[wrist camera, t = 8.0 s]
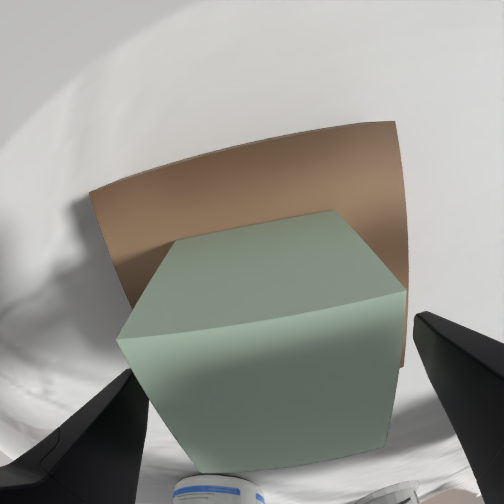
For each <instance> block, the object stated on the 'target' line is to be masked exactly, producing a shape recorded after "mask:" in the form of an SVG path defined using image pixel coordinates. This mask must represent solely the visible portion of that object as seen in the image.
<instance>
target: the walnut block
mask: <svg viewBox="0 0 504 504" xmlns="http://www.w3.org/2000/svg"><path fill="white" fill-rule="evenodd" d="M89 196H90V199H91V202H92V205H93V208H94V211H95V214H96V217H97V220H98V223H99V226H100V229H101V232H102V235H103V237H104V240H105V243H106V246H107V248H108V251H109V254H110V256H111V259H112V261H113V264H114V267H115V269H116V272H117V274H118V277H119V279H120V281H121V284H122V286H123V289H124V291H125V293H126V296H127V298H128V300H129V303H130V305H131V307H132V309H134V307H135V305H136V304H137V302H138V300H139V299H140V297H141V295H142V294H143V292H144V290H145V289H146V287H147V285H148V284H149V282H150V280H151V279H152V277H153V276H154V274H155V272H156V271H157V269H158V268H159V266H160V264H161V263H162V261H163V260H164V258H165V256H166V255H167V253H168V252H169V250H170V249H171V247H172V246H173V244H174V242H175V241H176V240H181V239H186V238H191V237H195V236H200V235H205V234H210V233H215V232H220V231H225V230H230V229H235V228H240V227H245V226H250V225H255V224H261V223H266V222H271V221H276V220H282V219H287V218H292V217H298V216H303V215H309V214H314V213H320V212H325V211H331V210H335V211H336V212H337V213H338V214H339V215H340V216H341V217H342V218H343V219H344V220H345V221H346V222H347V223H348V224H349V225H350V226H351V228H352V229H353V230H354V231H355V232H356V233H357V234H358V235H359V236H360V237H361V238H362V239H363V241H364V242H365V243H366V244H367V245H368V246H369V247H370V248H371V249H372V251H373V252H374V253H375V254H376V255H377V256H378V257H379V258H380V260H381V261H382V262H383V263H384V264H385V265H386V266H387V268H388V269H389V270H390V271H391V272H392V273H393V275H394V276H395V277H396V278H397V279H398V281H399V282H400V283H401V284H402V285H403V287H404V288H405V289H406V290H407V293H406V310H405V323H404V334H403V343H402V352H401V360H400V367H399V368H401V367H403V366H404V357H405V346H406V333H407V316H408V283H409V264H408V231H407V214H406V201H405V190H404V180H403V171H402V163H401V156H400V149H399V142H398V136H397V130H396V124H395V121H383V122H364V123H356V124H349V125H342V126H335V127H328V128H322V129H316V130H310V131H305V132H299V133H294V134H288V135H283V136H278V137H273V138H268V139H264V140H259V141H255V142H250V143H246V144H241V145H237V146H233V147H229V148H225V149H221V150H217V151H213V152H209V153H205V154H201V155H198V156H194V157H190V158H187V159H183V160H180V161H176V162H173V163H170V164H166V165H163V166H160V167H156V168H153V169H150V170H147V171H144V172H141V173H138V174H135V175H132V176H129V177H126V178H123V179H120V180H118V181H115V182H113V183H110V184H108V185H106V186H103V187H101V188H98V189H96V190H94V191H92V192H89Z"/></svg>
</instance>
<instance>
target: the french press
mask: <svg viewBox="0 0 504 504" xmlns="http://www.w3.org/2000/svg"><path fill="white" fill-rule="evenodd" d="M419 485H420V484H419V482H418V481H408V482H403V483H398V484H395V485H392V486H389V487H386V488H383V489H381V490H379V491H376V492H374V493H371V494H369V495H368V496H366V497H364V498H362V499H360V500H359V501H358V502H357V503H355V504H420V502H419V499H418V497H417V494H416V490H417V488H418V487H419Z"/></svg>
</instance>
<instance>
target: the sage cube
mask: <svg viewBox="0 0 504 504" xmlns="http://www.w3.org/2000/svg"><path fill="white" fill-rule="evenodd" d="M406 293H407V290H406V289H405V288H404V287H403V285H402V284H401V283H400V282H399V281H398V279H397V278H396V277H395V276H394V275H393V273H392V272H391V271H390V270H389V269H388V268H387V266H386V265H385V264H384V263H383V262H382V261H381V260H380V258H379V257H378V256H377V255H376V254H375V253H374V252H373V251H372V249H371V248H370V247H369V246H368V245H367V244H366V243H365V242H364V241H363V239H362V238H361V237H360V236H359V235H358V234H357V233H356V232H355V231H354V230H353V229H352V228H351V226H350V225H349V224H348V223H347V222H346V221H345V220H344V219H343V218H342V217H341V216H340V215H339V214H338V213H337V212H336V211H335V210H331V211H325V212H320V213H314V214H309V215H303V216H298V217H292V218H287V219H282V220H276V221H271V222H266V223H261V224H255V225H250V226H245V227H240V228H235V229H230V230H225V231H220V232H215V233H210V234H205V235H200V236H195V237H191V238H186V239H181V240H176V241H175V242H174V244H173V246H172V247H171V249H170V250H169V252H168V253H167V255H166V256H165V258H164V260H163V261H162V263H161V264H160V266H159V268H158V269H157V271H156V272H155V274H154V276H153V277H152V279H151V280H150V282H149V284H148V285H147V287H146V289H145V290H144V292H143V294H142V295H141V297H140V299H139V300H138V302H137V304H136V305H135V307H134V309H133V310H132V312H131V314H130V315H129V317H128V319H127V321H126V322H125V324H124V326H123V327H122V329H121V331H120V333H119V335H118V336H117V338H116V341H117V343H118V345H119V347H120V349H121V351H122V353H123V355H124V356H125V358H126V360H127V362H128V364H129V366H130V367H131V369H132V371H133V373H134V374H135V376H136V378H137V380H138V381H139V383H140V385H141V386H142V388H143V390H144V391H145V393H146V395H147V396H148V398H149V400H150V401H151V403H152V404H153V406H154V408H155V409H156V411H157V412H158V414H159V415H160V417H161V418H162V420H163V421H164V423H165V424H166V426H167V427H168V429H169V430H170V432H171V433H172V435H173V436H174V437H175V439H176V440H177V442H178V443H179V444H180V446H181V447H182V449H183V450H184V451H185V453H186V454H187V455H188V457H189V458H190V459H191V461H192V462H193V463H194V465H195V466H196V467H197V468H198V470H199V471H200V472H201V473H229V472H247V471H259V470H269V469H278V468H286V467H294V466H300V465H306V464H312V463H318V462H323V461H328V460H333V459H338V458H343V457H347V456H351V455H355V454H359V453H363V452H367V451H371V450H374V449H378V448H382V447H384V446H385V442H386V438H387V433H388V429H389V424H390V419H391V415H392V410H393V404H394V399H395V393H396V387H397V381H398V374H399V367H400V360H401V352H402V343H403V334H404V323H405V310H406Z"/></svg>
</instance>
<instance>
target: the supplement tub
mask: <svg viewBox="0 0 504 504" xmlns="http://www.w3.org/2000/svg"><path fill="white" fill-rule="evenodd" d="M172 504H265V503H264V493H263V491H262V489H261V488H260V487H259V486H257V485H256V484H254V483H252V482H250V481H247V480H244V479H240V478H236V477H227V476H222V475H198V476H192V477H188V478H185V479H183V480H181V481H179V482H178V483H177V484H176V486H175V488H174V494H173V500H172Z"/></svg>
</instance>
